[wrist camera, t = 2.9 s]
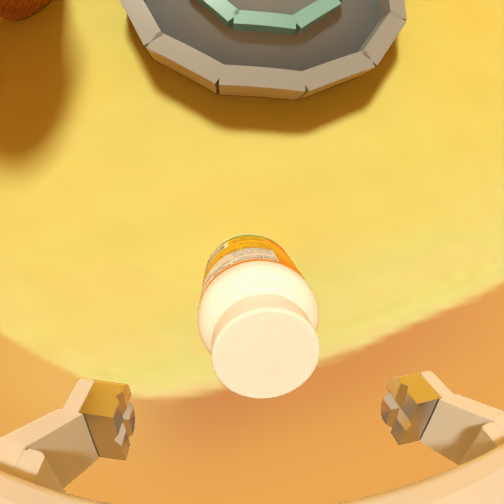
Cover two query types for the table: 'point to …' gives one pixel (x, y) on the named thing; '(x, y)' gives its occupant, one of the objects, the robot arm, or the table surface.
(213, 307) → the supplement bottle
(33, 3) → the disposable coffee cup
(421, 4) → the table surface
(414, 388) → the robot arm
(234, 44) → the round tray
